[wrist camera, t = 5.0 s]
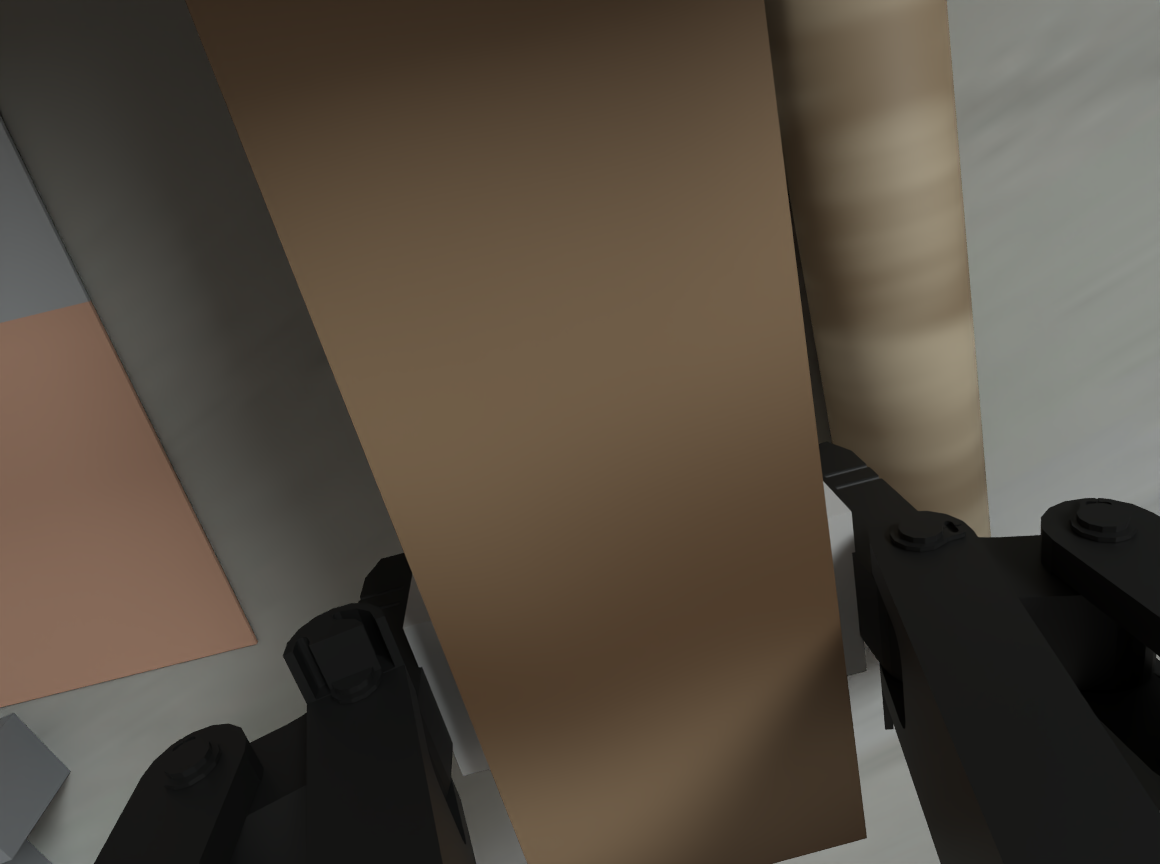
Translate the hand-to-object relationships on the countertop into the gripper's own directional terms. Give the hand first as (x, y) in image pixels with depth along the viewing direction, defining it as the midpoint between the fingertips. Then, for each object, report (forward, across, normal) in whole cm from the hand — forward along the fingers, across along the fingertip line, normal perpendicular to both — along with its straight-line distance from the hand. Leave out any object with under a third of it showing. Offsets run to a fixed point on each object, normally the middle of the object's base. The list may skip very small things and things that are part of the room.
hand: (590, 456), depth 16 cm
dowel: (0, -8, -1) cm, 8 cm away
